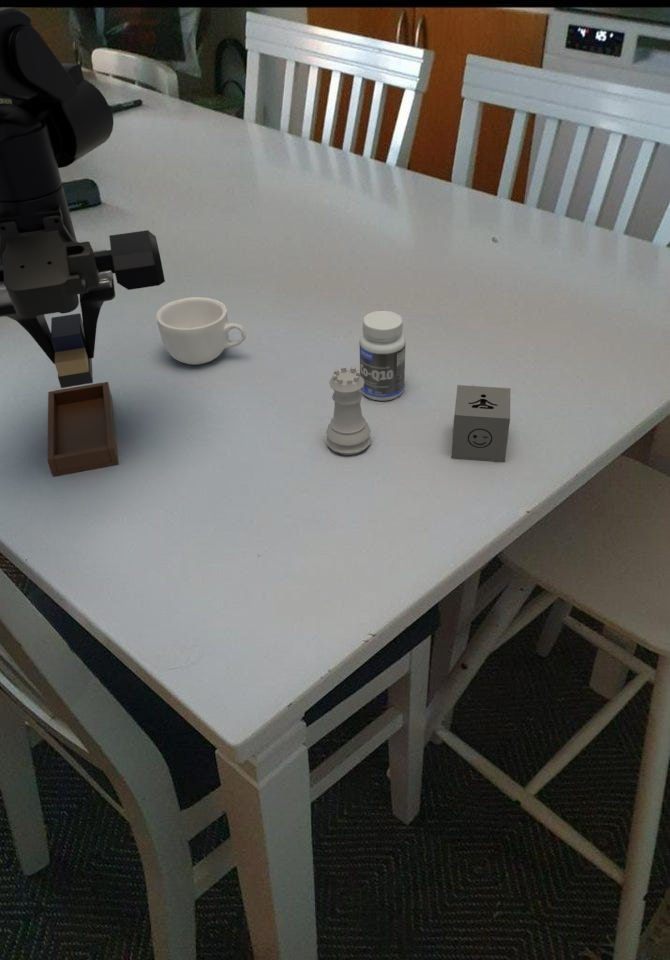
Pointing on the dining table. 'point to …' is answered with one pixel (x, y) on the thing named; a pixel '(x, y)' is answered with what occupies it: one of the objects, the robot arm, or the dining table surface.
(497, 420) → the dice cube
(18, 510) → the dining table surface
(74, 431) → the tray
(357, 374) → the rook chess piece
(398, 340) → the pill bottle
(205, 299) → the teacup
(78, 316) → the stacked boxes
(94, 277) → the robot arm
